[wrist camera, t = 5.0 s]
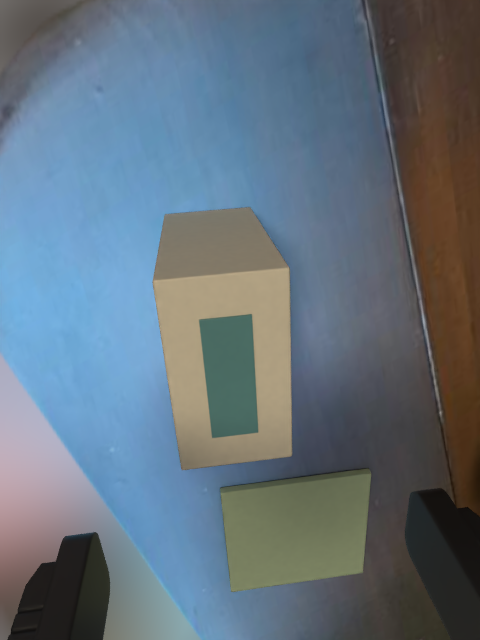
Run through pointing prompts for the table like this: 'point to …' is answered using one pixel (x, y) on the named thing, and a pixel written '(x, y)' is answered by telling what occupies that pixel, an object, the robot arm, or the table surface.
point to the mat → (296, 528)
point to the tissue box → (225, 337)
